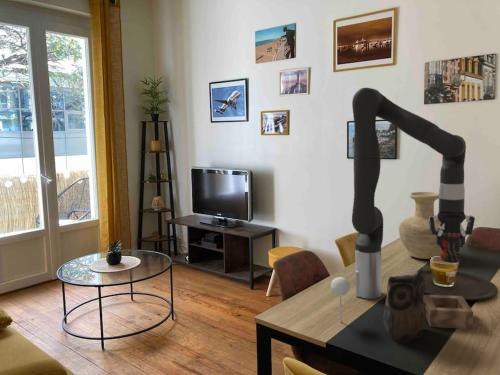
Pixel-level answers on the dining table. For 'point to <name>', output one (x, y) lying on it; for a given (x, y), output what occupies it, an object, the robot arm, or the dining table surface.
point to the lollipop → (340, 288)
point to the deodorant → (451, 240)
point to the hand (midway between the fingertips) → (450, 246)
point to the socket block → (448, 311)
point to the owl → (405, 305)
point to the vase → (420, 227)
